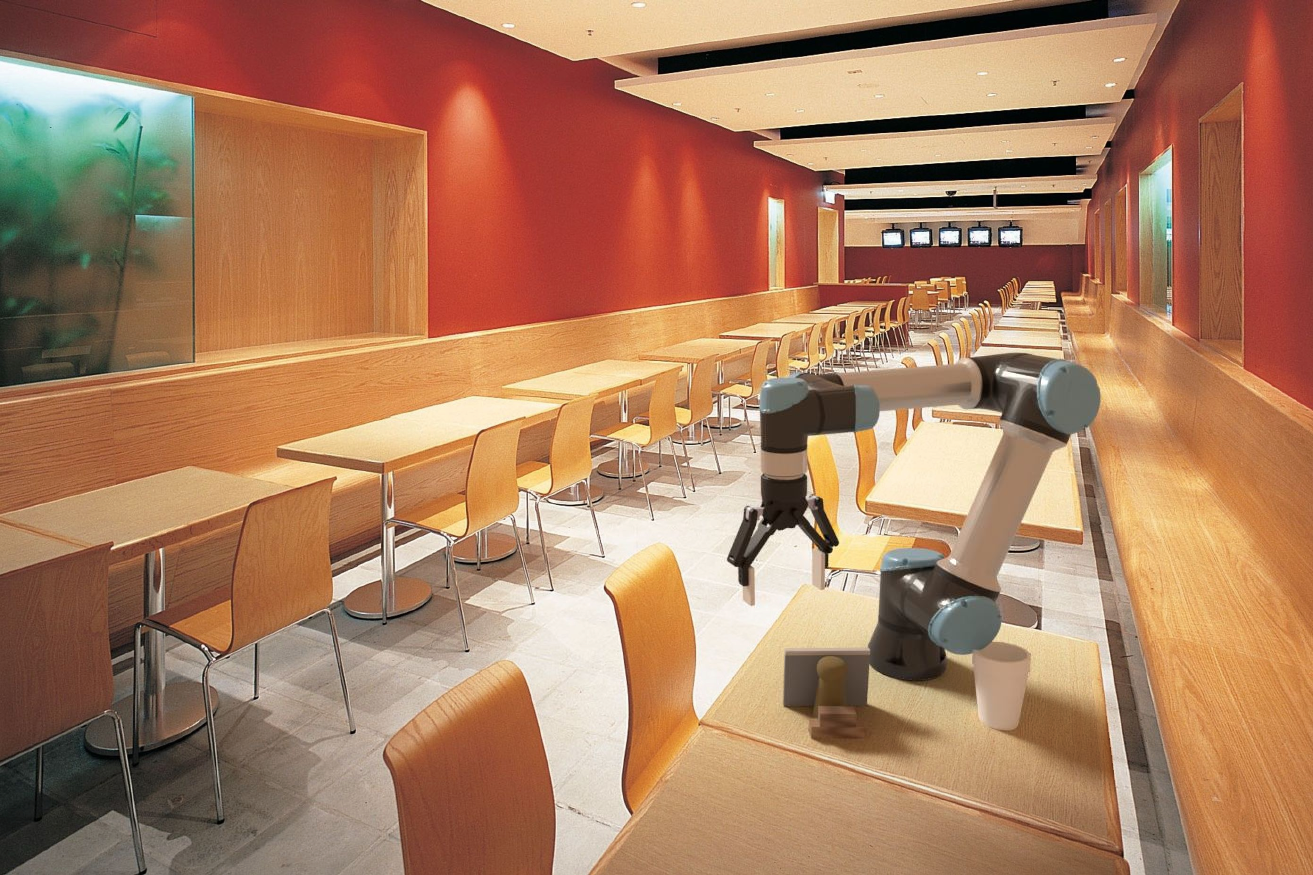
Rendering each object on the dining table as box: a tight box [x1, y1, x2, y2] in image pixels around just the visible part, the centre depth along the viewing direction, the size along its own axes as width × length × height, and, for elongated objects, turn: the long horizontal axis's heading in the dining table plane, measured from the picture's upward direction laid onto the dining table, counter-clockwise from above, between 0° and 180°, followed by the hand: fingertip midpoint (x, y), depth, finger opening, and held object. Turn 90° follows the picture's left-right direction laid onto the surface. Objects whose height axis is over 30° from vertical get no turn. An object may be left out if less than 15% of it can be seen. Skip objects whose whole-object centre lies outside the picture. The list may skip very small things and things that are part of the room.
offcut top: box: [818, 706, 858, 728], centre depth 145 cm, size 6×2×2 cm, turn 88°
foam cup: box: [971, 641, 1032, 732], centre depth 149 cm, size 10×9×13 cm
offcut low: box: [808, 717, 866, 739], centre depth 146 cm, size 9×3×2 cm, turn 90°
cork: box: [811, 656, 848, 718], centre depth 150 cm, size 6×6×11 cm
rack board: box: [782, 646, 870, 707], centre depth 154 cm, size 15×1×11 cm, turn 91°
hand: (784, 594), depth 145 cm, fingers open, 13 cm apart
